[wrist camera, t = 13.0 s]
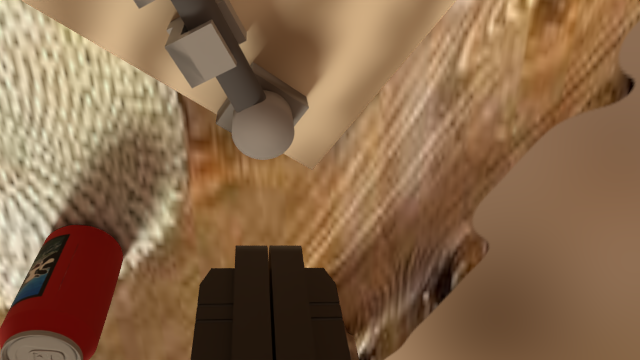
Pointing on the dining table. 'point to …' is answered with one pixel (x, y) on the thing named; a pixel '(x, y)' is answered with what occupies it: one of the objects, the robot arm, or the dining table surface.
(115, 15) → the board
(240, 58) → the cable arm
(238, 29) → the clip
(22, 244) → the dining table surface
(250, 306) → the robot arm
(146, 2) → the clip
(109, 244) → the beverage can
